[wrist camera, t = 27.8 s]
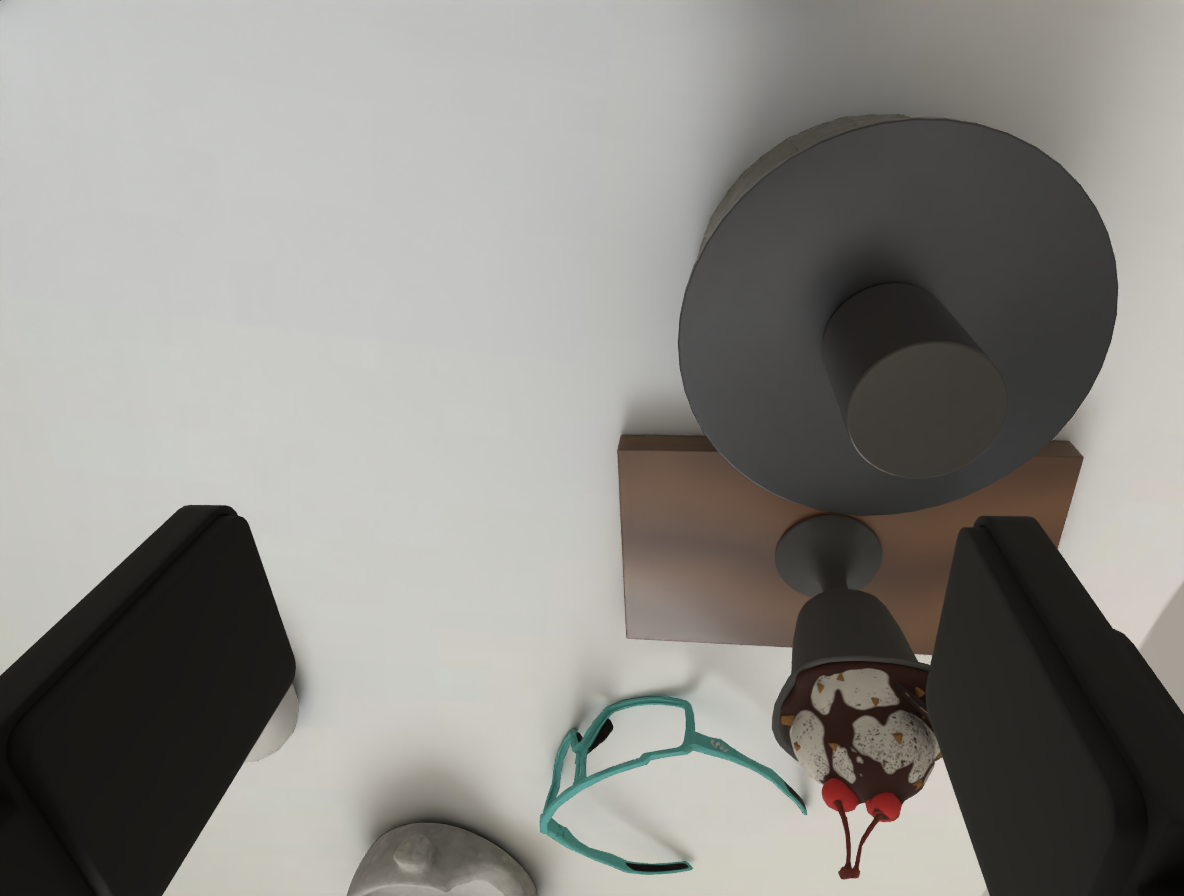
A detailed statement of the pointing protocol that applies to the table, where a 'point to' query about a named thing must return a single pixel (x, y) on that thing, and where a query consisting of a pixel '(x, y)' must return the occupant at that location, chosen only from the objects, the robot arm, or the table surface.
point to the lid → (897, 316)
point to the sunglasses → (599, 734)
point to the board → (757, 524)
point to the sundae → (851, 679)
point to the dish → (438, 865)
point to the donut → (277, 728)
